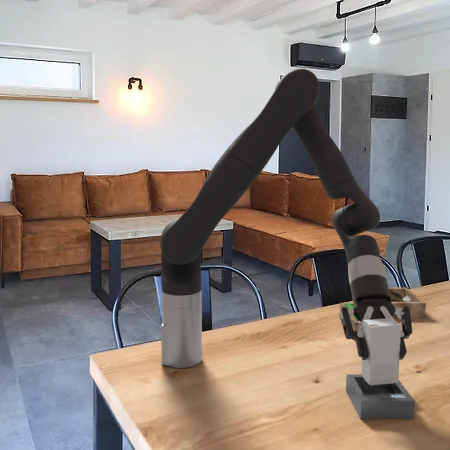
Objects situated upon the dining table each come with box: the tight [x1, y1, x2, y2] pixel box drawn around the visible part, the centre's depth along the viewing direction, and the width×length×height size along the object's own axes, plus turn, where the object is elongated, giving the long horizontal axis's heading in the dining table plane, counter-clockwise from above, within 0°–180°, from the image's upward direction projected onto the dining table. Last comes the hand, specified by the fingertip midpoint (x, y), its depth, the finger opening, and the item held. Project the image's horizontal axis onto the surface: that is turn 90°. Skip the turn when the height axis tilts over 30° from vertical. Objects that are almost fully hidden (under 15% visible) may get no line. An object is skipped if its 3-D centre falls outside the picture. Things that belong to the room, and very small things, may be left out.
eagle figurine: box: [389, 290, 411, 302], centre depth 157 cm, size 8×7×9 cm
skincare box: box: [361, 318, 402, 385], centre depth 100 cm, size 6×4×12 cm
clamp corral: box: [339, 302, 361, 332], centre depth 146 cm, size 10×17×4 cm, turn 1°
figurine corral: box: [388, 287, 427, 319], centre depth 158 cm, size 13×16×4 cm
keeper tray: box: [345, 373, 416, 420], centre depth 101 cm, size 10×11×4 cm
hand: (383, 358), depth 98 cm, fingers closed on skincare box, 6 cm apart
